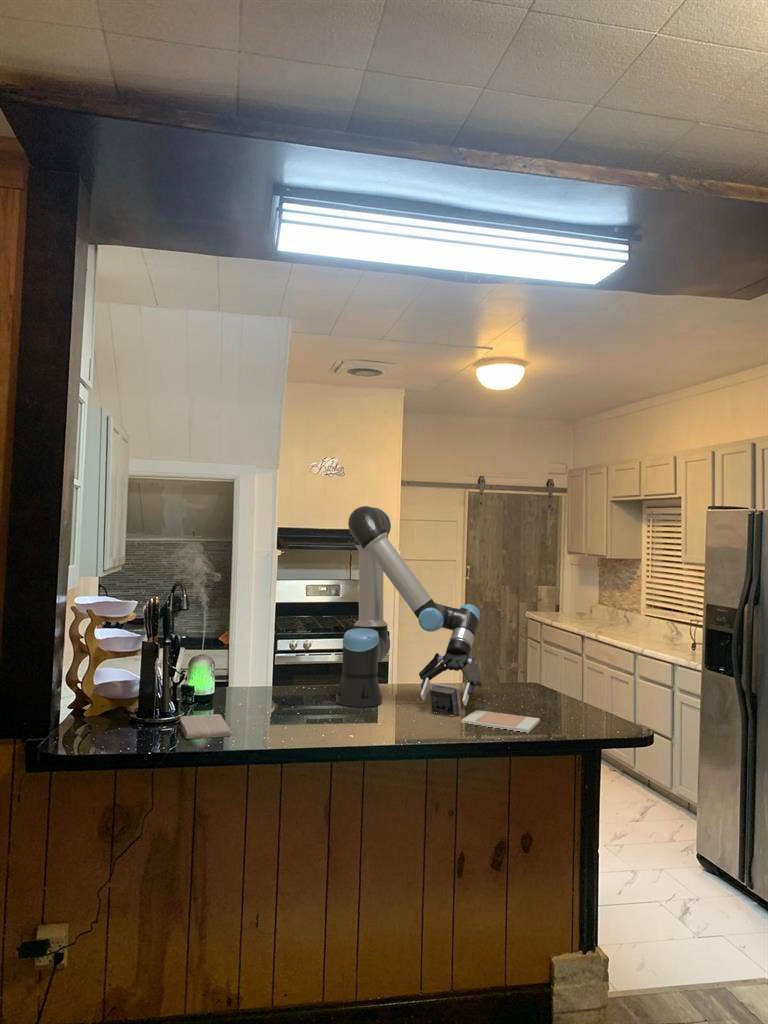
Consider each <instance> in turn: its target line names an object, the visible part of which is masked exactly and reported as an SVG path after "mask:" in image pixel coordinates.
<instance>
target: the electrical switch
mask: <svg viewBox="0 0 768 1024" xmlns="http://www.w3.org/2000/svg"><path fill="white" fill-rule="evenodd" d="M460 694H461V693H460V688H459V687H458V686H454V685H450V684H449V685H448V684H444V683H437V682H434V683H432V684H431V688H430V690H429V697H430V705H431V713H433V712H435V713H434V714H436V712H437V713H439V714H438V715H441V714H445V715H444V716H447V715H454V717H455V716H458V715H457V714H460V715H461V714H462V705H461V703H462V702H461V695H460ZM445 712H446V713H445Z"/></svg>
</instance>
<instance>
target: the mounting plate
mask: <svg viewBox="0 0 768 1024" xmlns="http://www.w3.org/2000/svg"><path fill="white" fill-rule="evenodd" d="M460 721H461V722H460V724H461V723H468V724H474V725H481V726H486V727H485V728H488V727H493V728H492V729H495V728H500V729H499V730H502V729H507V730H506V731H509V730H513V731H512V732H516V731H520V732H519V733H523V732H526V733H525V734H529V733H530V732H531V731H532V730H533V729H534V728H536V726H537V725H538V724H539V723H540V722H541V719H540V717H539V718H538V717H532V716H525V715H517V714H509V713H508V714H507V713H502V712H501V713H500V712H493V711H486V710H478V709H475V710H474V711H472V712H471V713H469V714H468V715H466V716H465V717H464V718H462V719H461V720H460ZM474 725H473V726H474ZM481 726H480V727H481Z"/></svg>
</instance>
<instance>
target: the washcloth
mask: <svg viewBox="0 0 768 1024" xmlns="http://www.w3.org/2000/svg"><path fill="white" fill-rule="evenodd" d="M179 721H180V729H181V731H182V734H183V735H184V737H185V739H186V740H198V739H199V740H200V738H201V739H206V738H207V739H210V738H211V739H214V738H226V737H227V738H228V737H231V735H232V734H231V729H230V727H229V726H228V724H227V722H226V721H225V719H224V718H223V716H222V714H219V713H216V714H208V715H197V714H191V715H183V716H181V717H179Z"/></svg>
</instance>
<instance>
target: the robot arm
mask: <svg viewBox="0 0 768 1024" xmlns="http://www.w3.org/2000/svg"><path fill="white" fill-rule="evenodd" d="M347 522H348V524H347V525H348V530H349V532H350V534H351V535H352V536H353V538H354V547H355V548H357V550H358V560H359V561H358V619H357V621H356V622H355V623H354V628H351V629H348V630H347V631H345V632H344V634H343V640H342V667H341V668H342V669H341V670H342V671H341V673H342V675H341V680H340V684H339V685H338V688H337V692H336V694H335V702H336V704H339V705H342V706H346V707H351V708H352V707H354V708H368V707H376V706H379V705H381V704H383V695H382V694H383V693H382V691H381V686H380V684H379V680H378V673H379V672H378V670H379V665H378V664H379V662H381V661H383V660H384V659H385V657H386V656H387V655H388V653H389V652H390V649H391V638H390V636H389V634H388V629H389V628H388V627H389V626H388V623H387V622H386V620H384V574H385V576H386V577H387V578H388V580H389V581H390V582H391V583H392V585H393V587H395V589H396V591H397V593H398V594H400V596H401V598H402V599H403V600H404V601H405V603H406V604H407V605H408V607H409V608H410V609H411V611H412V612H413V614H414V615H415V616H416V619H418V624H419V626H420V627H421V629H422V630H424V631H426V632H436V631H439V630H441V629H444V630H445V629H446V630H450V631H452V632H451V635H450V638H449V642H448V644H447V647H446V651H445V653H444V655H440V654H439V652H437V653H435V654H434V656H433V658H431V660H430V661H429V662H428V663H427V664H426V665H425V667H424V668H422V670H420V671H419V672H418V676H419V678H420V680H422V682H421V684H420V688H421V689H422V690H421V693H420V698H421V699H422V701H425V700H426V698H427V694H428V692H429V689H430V685H431V680H433V679H434V678H436V677H437V676H439V675H440V674H441V673H443V672H446V671H447V670H448V671H455V672H459V671H461V673H463V675H464V676H465V678H466V681H468V682H467V683H466V686H465V690H464V693H463V697H462V704H463V706H466V707H467V704H468V701H469V697H470V696H473V694H474V690H475V687H482V681H481V679H480V675H479V671H478V668H477V666H478V661H477V659H476V657H475V656H473V657H471V658H469V657H470V654H471V651H472V647H473V643H474V641H475V637H476V633H477V630H478V627H479V624H480V619H481V610H480V609H479V608H478V607H477V606H476V605H473V604H471V603H467V604H464V603H463V604H462V605H461V606H460V607H459V608H455V607H452V606H447V605H444V604H441V603H440V604H439V603H437V602H435V601H434V599H433V598H432V596H431V595H430V594H429V593H428V591H427V590H426V589H425V587H424V586H423V585H422V583H421V582H420V580H419V579H418V578H417V577H416V574H414V572H413V571H412V569H410V566H409V565H408V564H407V563H406V561H405V560H404V558H403V557H402V556H401V555H400V553H399V552H398V551H397V549H396V548H395V547H394V545H393V544H392V542H391V541H390V540H389V534H390V532H391V526H392V524H391V520H390V516H389V515H388V514H387V513H386V512H385V511H384V510H383V509H380V508H378V507H373V506H369V505H366V506H365V505H363V506H358V507H357V508H355V509H354V510H353V511H352V512H351V513H350V515H349V518H348V521H347ZM468 664H469V665H470V666H471V668H472V671H473V674H474V678H475V679H473V677H472V675H471V674H470V673H469V670H468V669H467V667H466V666H467V665H468Z"/></svg>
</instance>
